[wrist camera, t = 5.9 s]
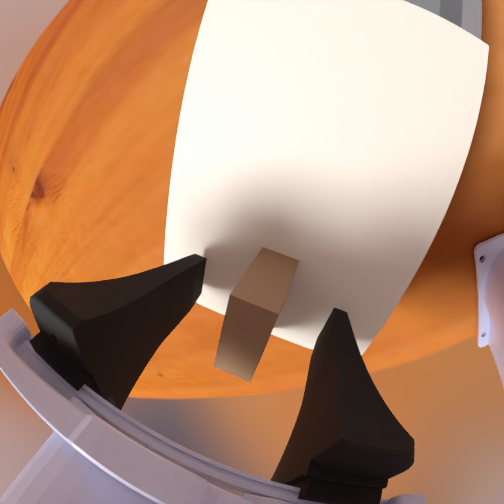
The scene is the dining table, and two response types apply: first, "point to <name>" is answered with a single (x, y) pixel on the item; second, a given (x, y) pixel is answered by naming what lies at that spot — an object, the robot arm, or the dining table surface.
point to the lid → (317, 161)
